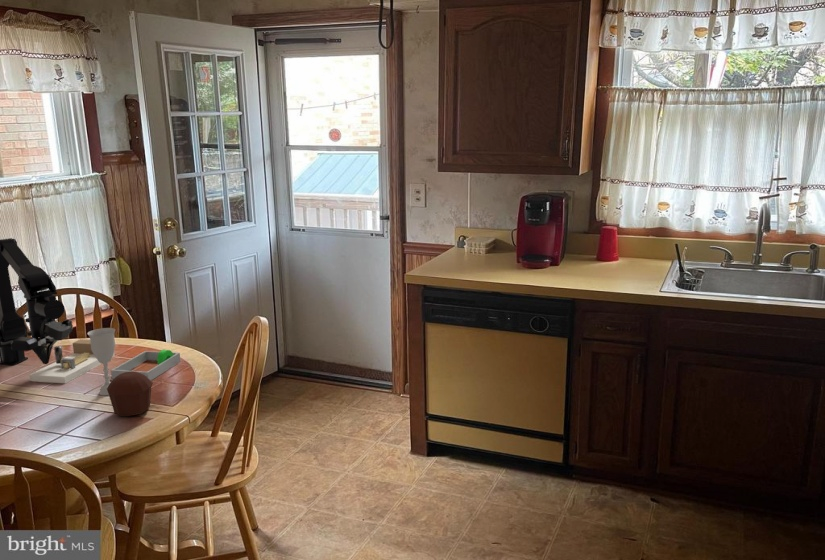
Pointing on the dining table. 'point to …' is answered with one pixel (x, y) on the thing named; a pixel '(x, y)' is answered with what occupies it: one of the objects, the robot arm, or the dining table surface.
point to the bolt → (77, 359)
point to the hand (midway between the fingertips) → (46, 363)
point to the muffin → (130, 393)
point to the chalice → (103, 351)
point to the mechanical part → (164, 356)
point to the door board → (64, 375)
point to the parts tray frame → (143, 357)
